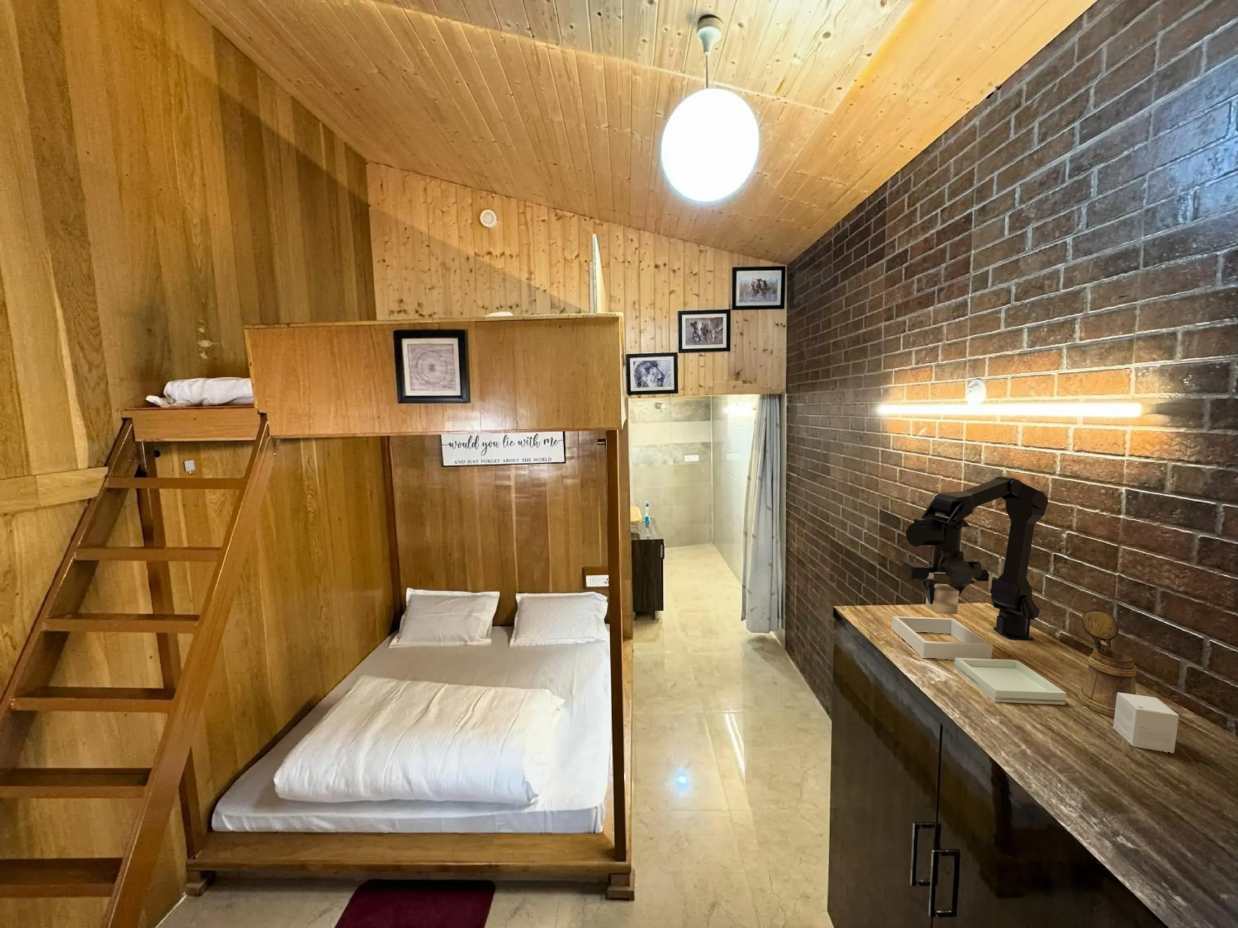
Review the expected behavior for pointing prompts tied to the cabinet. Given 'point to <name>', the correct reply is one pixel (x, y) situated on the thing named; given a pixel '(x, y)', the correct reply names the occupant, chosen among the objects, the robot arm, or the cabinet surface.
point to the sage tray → (1009, 681)
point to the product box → (1146, 722)
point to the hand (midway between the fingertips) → (941, 604)
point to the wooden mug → (1105, 665)
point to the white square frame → (965, 648)
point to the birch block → (944, 599)
